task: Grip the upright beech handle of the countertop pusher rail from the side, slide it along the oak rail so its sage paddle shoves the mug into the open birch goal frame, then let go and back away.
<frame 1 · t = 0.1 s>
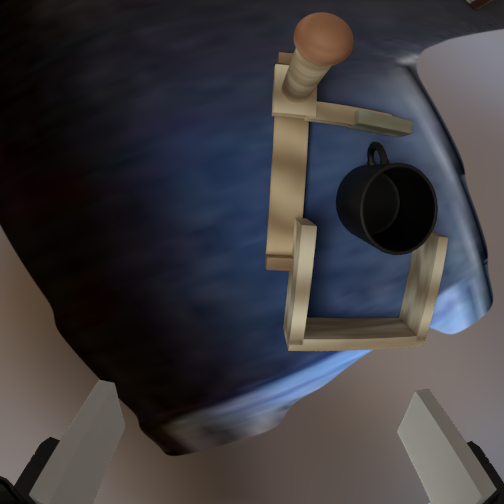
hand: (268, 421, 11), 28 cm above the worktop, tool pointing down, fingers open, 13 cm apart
rail: (288, 159, 36), on the worktop
goal: (358, 275, 39), on the worktop
pusher: (365, 82, 24), point 10 cm above the worktop, slide at 0.0 cm
mug: (367, 192, 37), on the worktop
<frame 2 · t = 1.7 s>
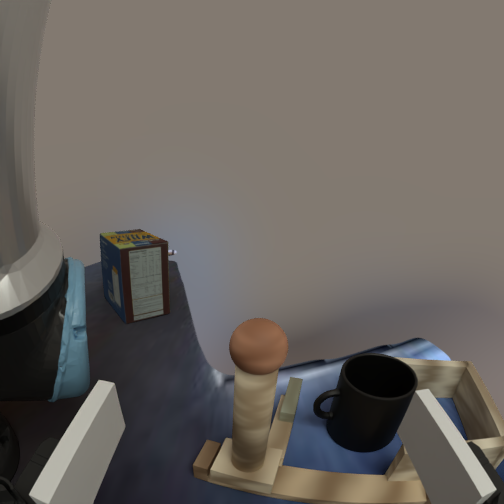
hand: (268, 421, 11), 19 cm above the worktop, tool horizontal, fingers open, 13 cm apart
protein box: (134, 306, 65), on the worktop
rail: (321, 489, 24), on the worktop
goal: (428, 431, 30), on the worktop
pusher: (268, 380, 29), point 10 cm above the worktop, slide at 0.0 cm
mug: (351, 429, 33), on the worktop
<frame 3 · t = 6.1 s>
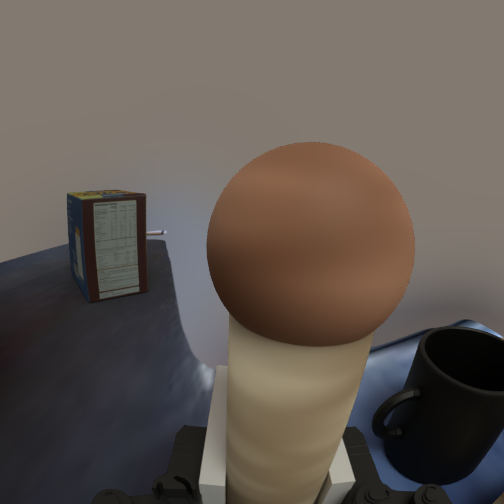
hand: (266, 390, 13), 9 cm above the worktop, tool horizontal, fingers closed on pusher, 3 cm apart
protein box: (105, 284, 49), on the worktop
pusher: (303, 376, 13), point 10 cm above the worktop, slide at 0.0 cm, touching gripper
mug: (420, 450, 18), on the worktop
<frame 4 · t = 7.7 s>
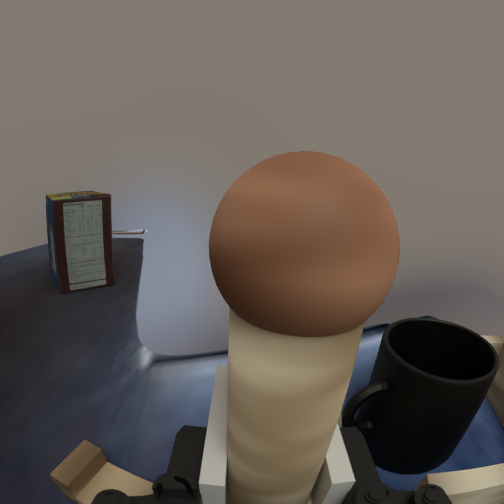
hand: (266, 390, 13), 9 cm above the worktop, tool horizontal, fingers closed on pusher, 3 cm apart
protein box: (79, 277, 51), on the worktop
goal: (456, 442, 17), on the worktop
pusher: (300, 372, 14), point 10 cm above the worktop, slide at 7.2 cm, touching gripper, mug
mug: (392, 440, 20), on the worktop, touching pusher
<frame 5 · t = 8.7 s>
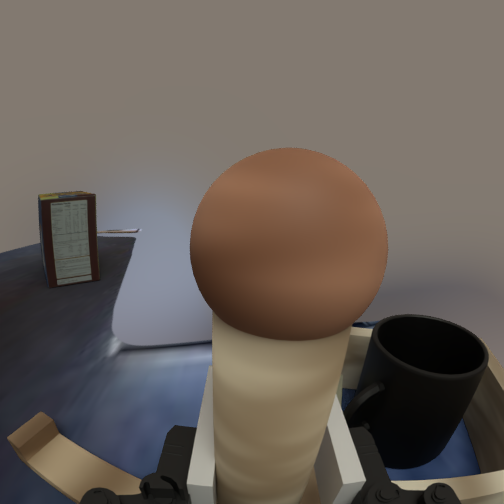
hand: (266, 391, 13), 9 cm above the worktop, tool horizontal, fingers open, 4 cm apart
protein box: (68, 273, 53), on the worktop
goal: (411, 448, 18), on the worktop
pusher: (296, 374, 14), point 10 cm above the worktop, slide at 11.7 cm, touching goal, gripper
mug: (386, 437, 20), on the worktop
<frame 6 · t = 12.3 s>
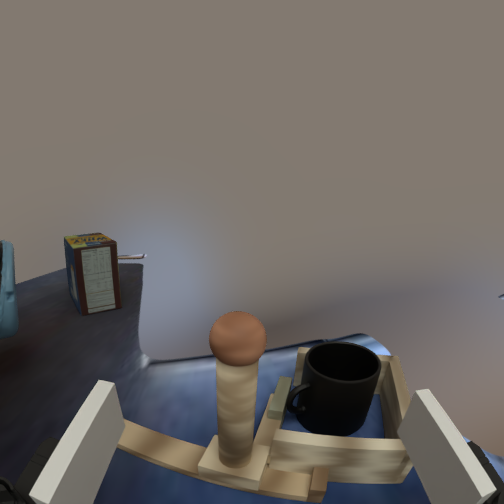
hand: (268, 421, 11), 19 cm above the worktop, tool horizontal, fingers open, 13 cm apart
protein box: (93, 302, 68), on the worktop
rail: (201, 465, 27), on the worktop
goal: (337, 426, 33), on the worktop
pusher: (254, 376, 29), point 10 cm above the worktop, slide at 11.7 cm, touching goal
mug: (322, 418, 35), on the worktop
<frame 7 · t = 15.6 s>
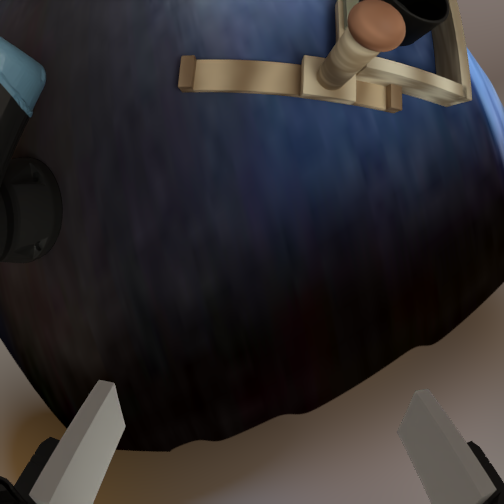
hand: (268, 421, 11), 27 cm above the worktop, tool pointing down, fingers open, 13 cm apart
rail: (293, 81, 32), on the worktop
goal: (396, 33, 30), on the worktop
pusher: (347, 9, 21), point 10 cm above the worktop, slide at 11.7 cm, touching goal
mug: (381, 21, 30), on the worktop
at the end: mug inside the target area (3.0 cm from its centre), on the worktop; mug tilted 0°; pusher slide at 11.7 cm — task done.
